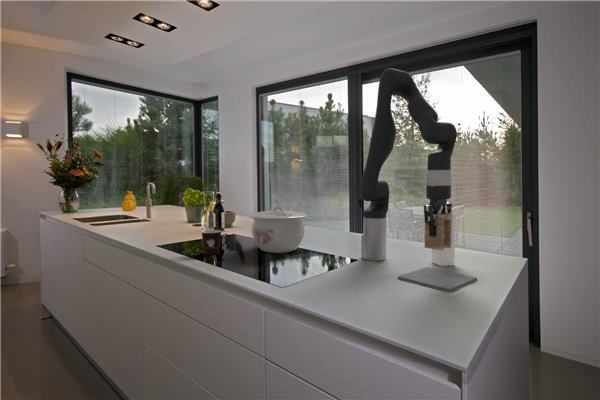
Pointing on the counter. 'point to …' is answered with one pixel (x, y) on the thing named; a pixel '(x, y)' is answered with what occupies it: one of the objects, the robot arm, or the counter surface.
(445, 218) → the tan notched block
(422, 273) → the mat
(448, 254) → the milk
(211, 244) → the coffee mug
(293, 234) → the chamber pot
